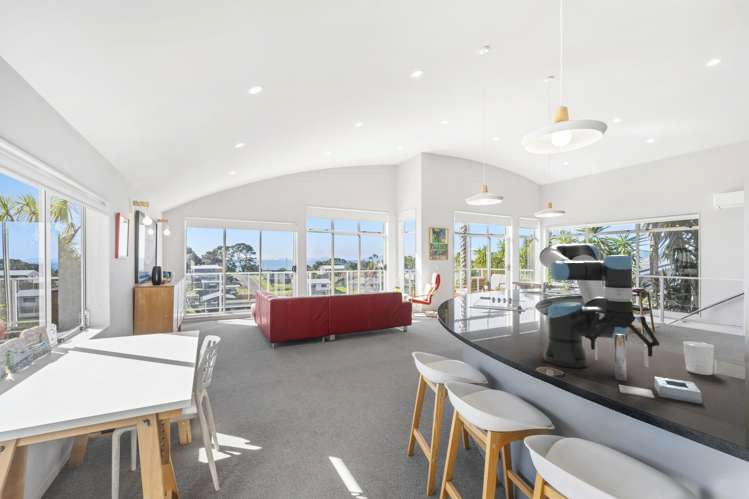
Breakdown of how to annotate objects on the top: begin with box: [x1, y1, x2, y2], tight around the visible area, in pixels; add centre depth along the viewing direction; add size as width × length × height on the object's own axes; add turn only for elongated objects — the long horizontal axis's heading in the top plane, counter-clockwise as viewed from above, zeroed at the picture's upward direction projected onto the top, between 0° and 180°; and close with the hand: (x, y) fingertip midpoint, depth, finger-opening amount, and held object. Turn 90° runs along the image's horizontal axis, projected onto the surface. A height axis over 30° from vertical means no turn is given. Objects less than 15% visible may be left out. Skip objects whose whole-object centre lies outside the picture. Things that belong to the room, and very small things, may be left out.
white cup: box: [683, 340, 715, 376], centre depth 118 cm, size 8×8×10 cm
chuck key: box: [613, 334, 627, 382], centre depth 111 cm, size 3×6×15 cm, turn 146°
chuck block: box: [654, 376, 703, 404], centre depth 98 cm, size 9×9×3 cm
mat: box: [618, 384, 655, 399], centre depth 100 cm, size 8×6×1 cm
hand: (620, 362), depth 111 cm, fingers open, 13 cm apart
